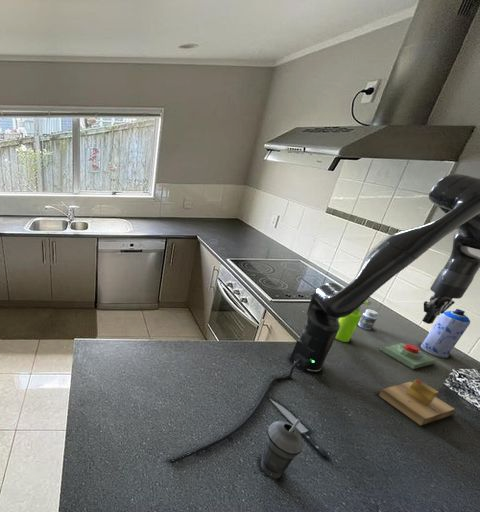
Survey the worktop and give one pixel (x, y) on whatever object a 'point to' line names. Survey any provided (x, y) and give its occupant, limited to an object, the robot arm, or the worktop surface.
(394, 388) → the lock plate
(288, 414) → the chef's knife
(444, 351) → the aerosol can
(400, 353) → the box
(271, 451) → the beverage cup
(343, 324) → the soap dispenser
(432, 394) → the lock knob
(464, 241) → the robot arm
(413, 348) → the alarm button
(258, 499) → the worktop surface
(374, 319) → the pill bottle
